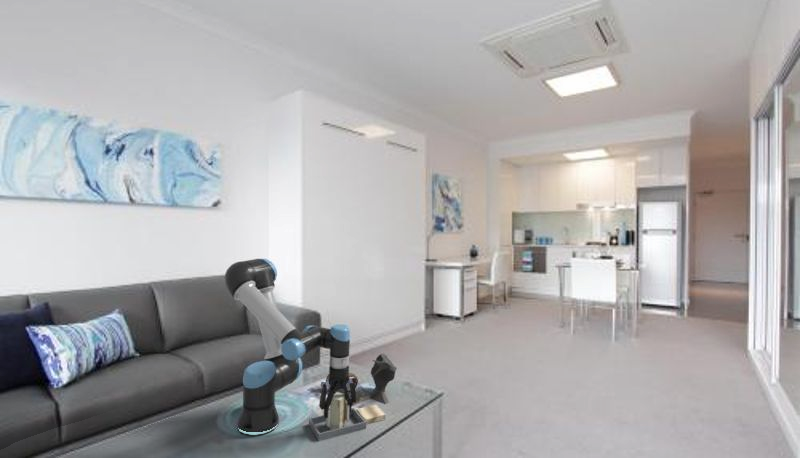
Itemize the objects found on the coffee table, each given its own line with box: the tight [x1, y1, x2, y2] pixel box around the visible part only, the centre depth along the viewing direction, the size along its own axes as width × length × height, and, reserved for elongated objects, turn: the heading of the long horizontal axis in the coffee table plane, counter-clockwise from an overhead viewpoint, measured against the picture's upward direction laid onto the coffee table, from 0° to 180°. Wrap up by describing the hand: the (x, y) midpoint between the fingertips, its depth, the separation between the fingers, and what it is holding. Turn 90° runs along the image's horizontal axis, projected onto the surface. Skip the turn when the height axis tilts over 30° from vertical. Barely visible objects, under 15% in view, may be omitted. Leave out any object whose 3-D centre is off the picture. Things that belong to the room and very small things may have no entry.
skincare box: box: [328, 391, 347, 431], centre depth 159 cm, size 6×4×12 cm
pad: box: [355, 404, 386, 425], centre depth 168 cm, size 9×9×2 cm
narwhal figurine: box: [369, 353, 398, 405], centre depth 188 cm, size 14×15×18 cm
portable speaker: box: [325, 372, 359, 393], centre depth 190 cm, size 15×3×8 cm, turn 84°
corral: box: [308, 407, 367, 442], centre depth 159 cm, size 19×12×2 cm, turn 120°
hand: (337, 422), depth 159 cm, fingers closed on skincare box, 7 cm apart
